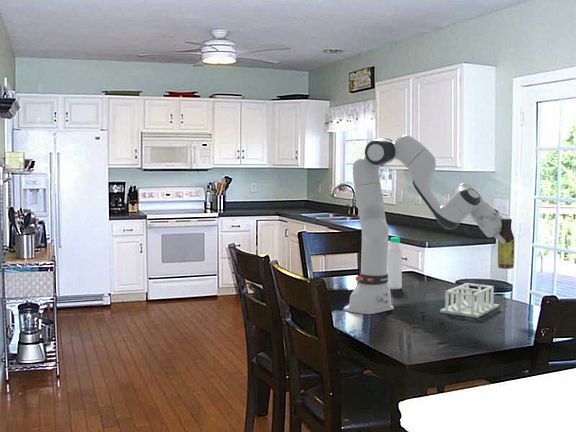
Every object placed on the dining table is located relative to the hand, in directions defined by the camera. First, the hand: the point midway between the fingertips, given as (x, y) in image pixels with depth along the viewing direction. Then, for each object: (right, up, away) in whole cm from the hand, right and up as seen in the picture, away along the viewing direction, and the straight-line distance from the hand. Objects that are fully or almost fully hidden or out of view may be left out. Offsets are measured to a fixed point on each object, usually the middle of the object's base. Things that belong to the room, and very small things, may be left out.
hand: (507, 242), depth 259 cm
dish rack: (-11, -29, +13) cm, 34 cm away
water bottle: (-36, -25, +59) cm, 74 cm away
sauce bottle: (-1, -11, +1) cm, 11 cm away
